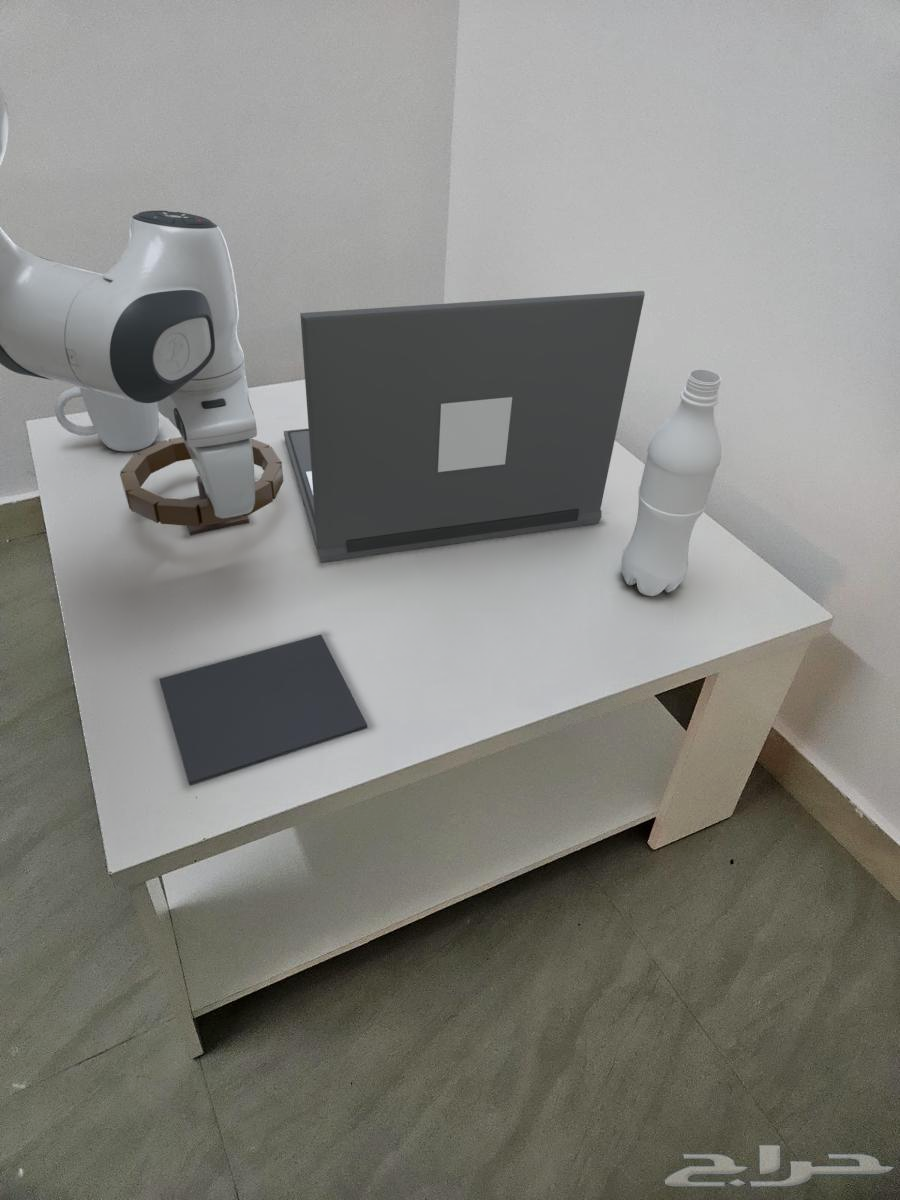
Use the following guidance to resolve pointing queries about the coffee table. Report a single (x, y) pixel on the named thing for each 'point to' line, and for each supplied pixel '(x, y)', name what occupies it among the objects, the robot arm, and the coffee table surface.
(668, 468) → the water bottle
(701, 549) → the coffee table surface
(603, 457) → the laptop
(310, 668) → the mat
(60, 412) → the mug
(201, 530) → the stand
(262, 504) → the hoop
